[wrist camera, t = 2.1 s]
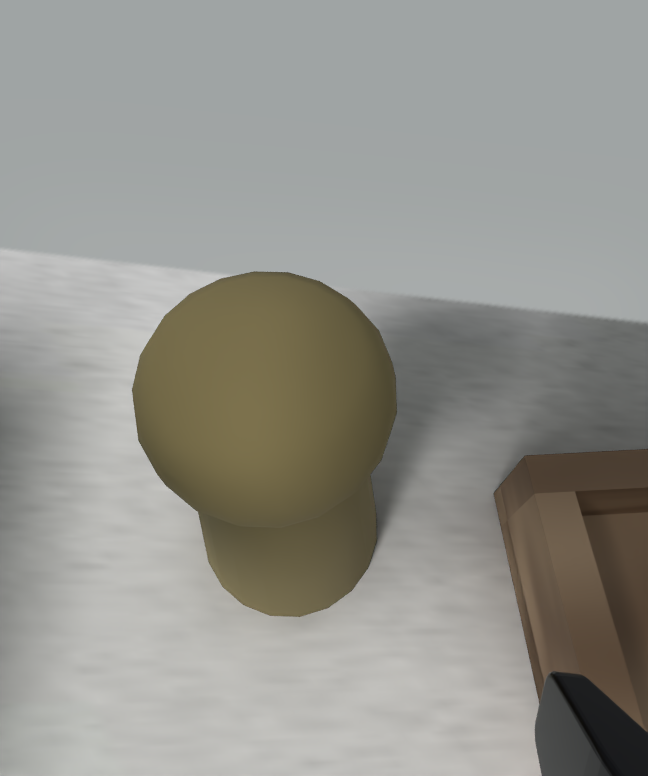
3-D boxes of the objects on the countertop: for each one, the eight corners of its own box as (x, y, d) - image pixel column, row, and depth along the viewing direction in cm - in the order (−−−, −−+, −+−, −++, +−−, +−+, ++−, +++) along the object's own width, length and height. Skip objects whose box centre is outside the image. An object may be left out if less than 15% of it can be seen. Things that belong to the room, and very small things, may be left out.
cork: (331, 421, 21) (338, 190, 12) (409, 567, 18) (501, 422, 9) (181, 484, 20) (49, 283, 10) (240, 651, 17) (137, 588, 8)
